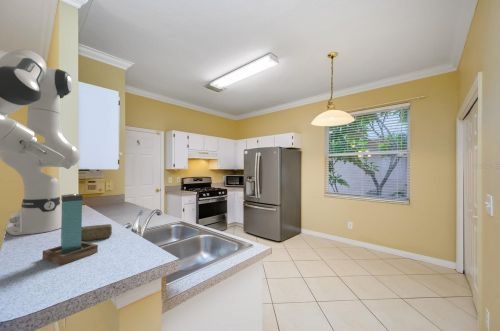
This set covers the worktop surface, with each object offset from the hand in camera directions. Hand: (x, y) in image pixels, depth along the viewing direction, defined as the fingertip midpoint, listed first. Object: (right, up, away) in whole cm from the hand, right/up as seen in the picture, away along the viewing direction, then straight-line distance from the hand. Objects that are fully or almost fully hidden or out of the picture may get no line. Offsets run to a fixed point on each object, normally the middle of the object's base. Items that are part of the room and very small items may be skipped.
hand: (62, 163), depth 72 cm
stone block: (+2, -30, +12) cm, 33 cm away
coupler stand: (+6, -30, -4) cm, 31 cm away
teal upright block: (+6, -28, -4) cm, 29 cm away
